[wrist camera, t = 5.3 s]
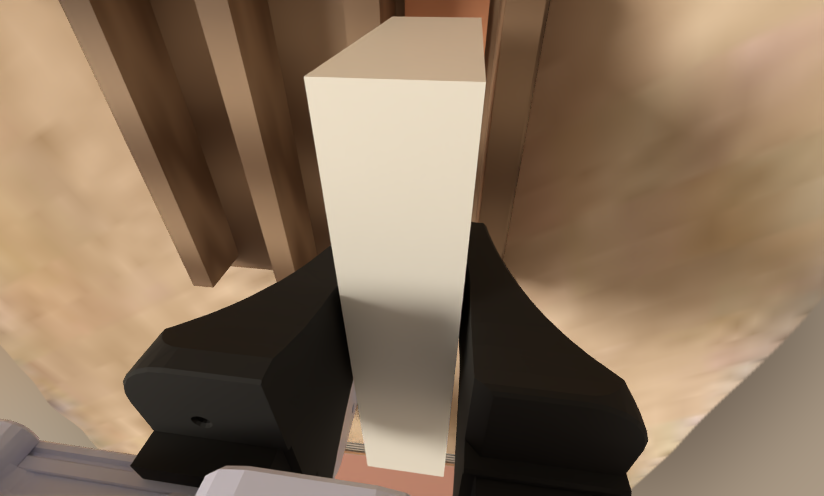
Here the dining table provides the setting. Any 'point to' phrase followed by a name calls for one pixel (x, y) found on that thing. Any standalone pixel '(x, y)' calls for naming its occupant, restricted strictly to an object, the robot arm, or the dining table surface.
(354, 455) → the notebook
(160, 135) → the rack
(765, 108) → the dining table surface
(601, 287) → the dining table surface
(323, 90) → the block
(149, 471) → the robot arm
